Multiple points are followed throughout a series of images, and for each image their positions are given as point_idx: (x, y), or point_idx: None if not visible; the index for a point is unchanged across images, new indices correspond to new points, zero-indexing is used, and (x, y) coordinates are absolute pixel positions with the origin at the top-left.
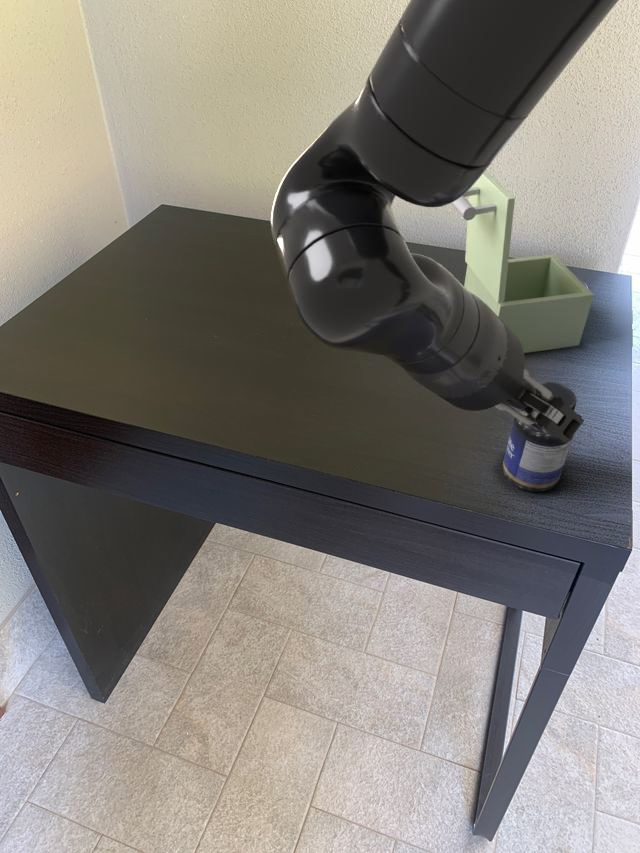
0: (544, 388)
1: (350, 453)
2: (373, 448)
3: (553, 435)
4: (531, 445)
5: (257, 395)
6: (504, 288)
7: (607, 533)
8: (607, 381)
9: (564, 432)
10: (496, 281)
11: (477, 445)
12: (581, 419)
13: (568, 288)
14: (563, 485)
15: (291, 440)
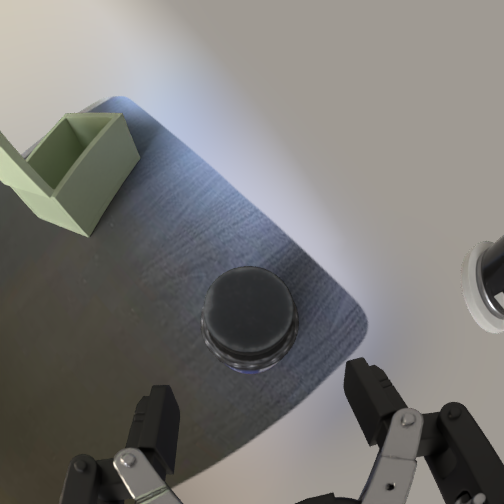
0: (409, 484)
1: None
2: None
3: (425, 459)
4: (269, 366)
5: (17, 467)
6: (42, 181)
7: (360, 327)
8: (191, 169)
9: (447, 447)
10: (30, 182)
11: (177, 359)
12: (470, 416)
13: (97, 125)
14: None
15: None
